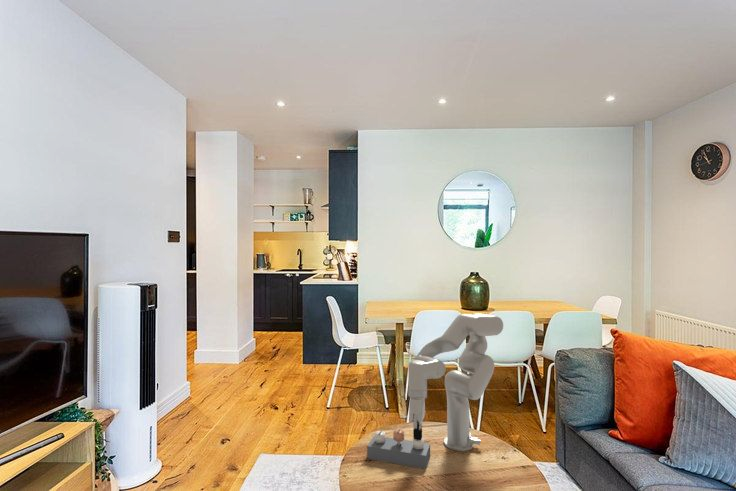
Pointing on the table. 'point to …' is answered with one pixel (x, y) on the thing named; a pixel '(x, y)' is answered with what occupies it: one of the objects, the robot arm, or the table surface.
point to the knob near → (418, 443)
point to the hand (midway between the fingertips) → (417, 438)
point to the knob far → (379, 437)
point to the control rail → (399, 452)
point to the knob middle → (398, 436)
